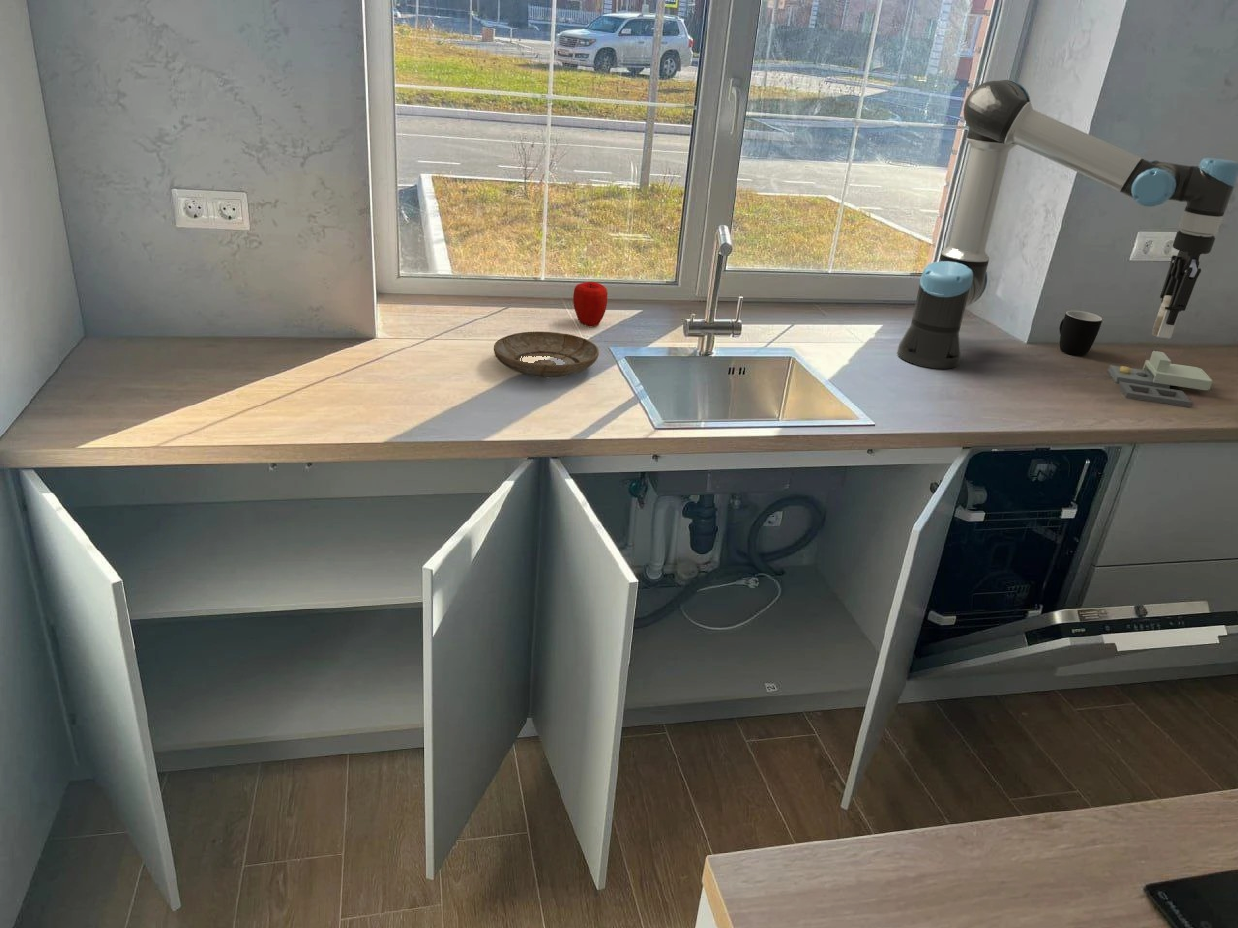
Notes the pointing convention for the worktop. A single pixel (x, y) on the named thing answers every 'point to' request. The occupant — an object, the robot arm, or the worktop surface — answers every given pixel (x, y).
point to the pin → (1161, 314)
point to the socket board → (1154, 394)
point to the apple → (590, 302)
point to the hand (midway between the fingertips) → (1161, 334)
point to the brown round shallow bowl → (546, 353)
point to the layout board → (1134, 376)
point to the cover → (1176, 373)
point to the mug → (1078, 332)
